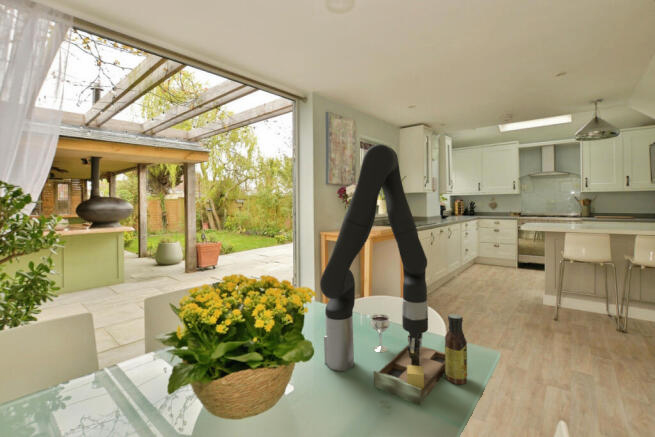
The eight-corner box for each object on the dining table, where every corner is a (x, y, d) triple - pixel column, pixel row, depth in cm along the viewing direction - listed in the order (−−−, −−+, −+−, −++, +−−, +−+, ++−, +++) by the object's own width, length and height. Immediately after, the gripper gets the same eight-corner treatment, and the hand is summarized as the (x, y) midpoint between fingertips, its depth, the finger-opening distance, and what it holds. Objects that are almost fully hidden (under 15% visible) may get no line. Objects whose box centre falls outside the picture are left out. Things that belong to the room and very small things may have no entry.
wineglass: (367, 348, 114) (367, 317, 113) (379, 342, 119) (378, 312, 118) (382, 355, 109) (381, 322, 108) (393, 348, 114) (393, 317, 113)
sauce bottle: (469, 386, 90) (469, 321, 89) (447, 384, 91) (446, 320, 90) (464, 374, 96) (464, 312, 95) (443, 372, 98) (443, 311, 96)
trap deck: (373, 386, 92) (373, 371, 91) (412, 348, 113) (412, 336, 113) (420, 405, 82) (419, 389, 82) (452, 361, 104) (452, 348, 104)
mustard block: (407, 388, 87) (407, 373, 86) (407, 379, 91) (407, 364, 91) (423, 390, 86) (423, 375, 85) (423, 381, 90) (422, 366, 90)
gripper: (406, 304, 100) (406, 355, 101) (398, 320, 88) (399, 377, 89) (430, 307, 97) (430, 360, 98) (425, 323, 85) (425, 383, 86)
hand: (415, 368), depth 94 cm, fingers closed
